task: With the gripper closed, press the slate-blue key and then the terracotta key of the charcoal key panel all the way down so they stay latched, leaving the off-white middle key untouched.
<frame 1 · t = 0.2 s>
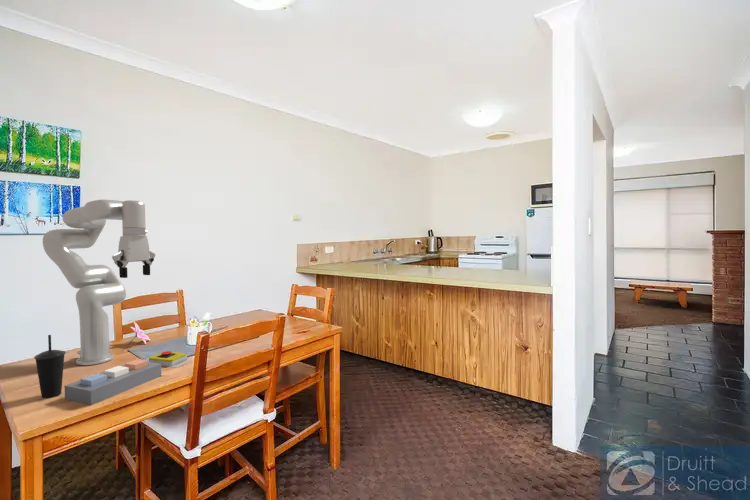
hand: (135, 276, 143), 36 cm above the table, tool pointing down, fingers open, 9 cm apart
off white key: (116, 373, 127), point 5 cm above the table, slide at 0.0 cm
lily: (139, 343, 178), on the table
slate blue key: (94, 381, 120), point 5 cm above the table, slide at 0.0 cm
drinking cup: (51, 395, 120), on the table
terracotta key: (136, 366, 134), point 5 cm above the table, slide at 0.0 cm
key panel: (116, 386, 127), on the table
emergency button: (168, 363, 152), on the table
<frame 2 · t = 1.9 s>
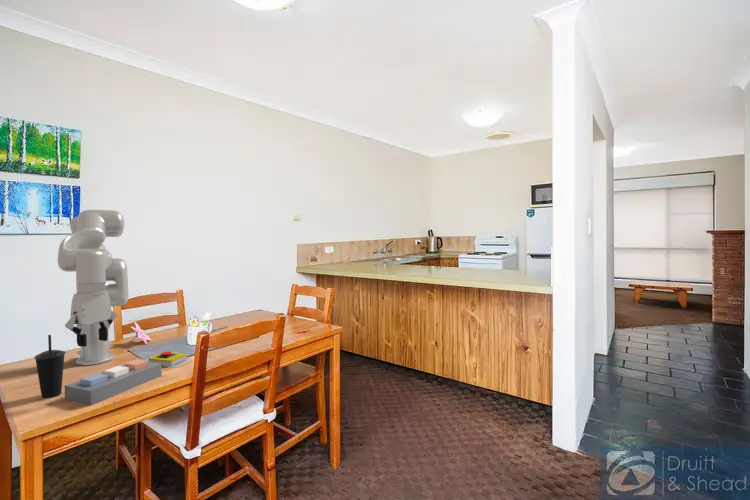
hand: (92, 342, 119), 18 cm above the table, tool pointing down, fingers open, 5 cm apart
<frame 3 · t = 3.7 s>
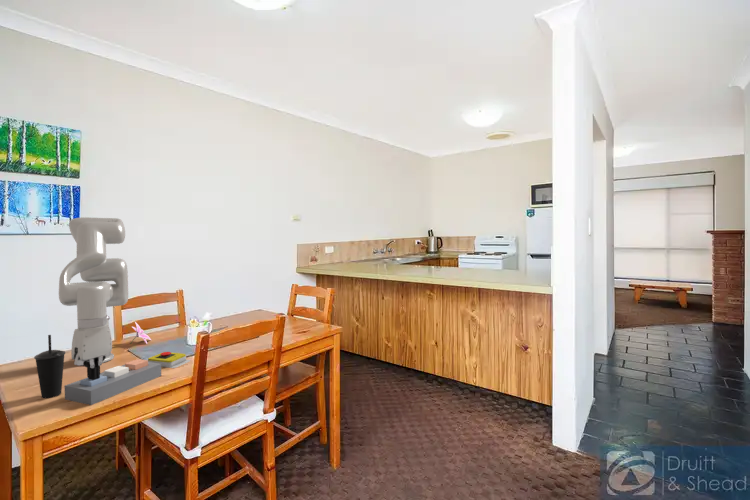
hand: (93, 378, 120), 6 cm above the table, tool pointing down, fingers closed
slate blue key: (94, 382, 120), point 4 cm above the table, slide at 0.4 cm, touching gripper
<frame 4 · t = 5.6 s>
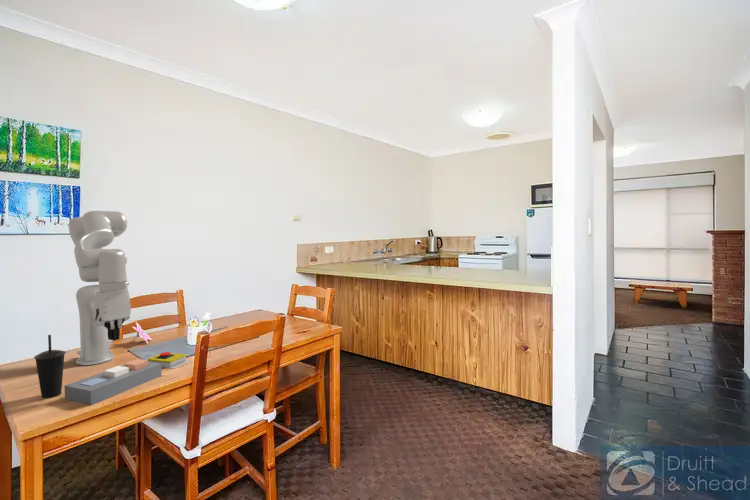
hand: (113, 339, 126), 17 cm above the table, tool pointing down, fingers closed
slate blue key: (94, 386, 120), point 3 cm above the table, slide at 1.5 cm
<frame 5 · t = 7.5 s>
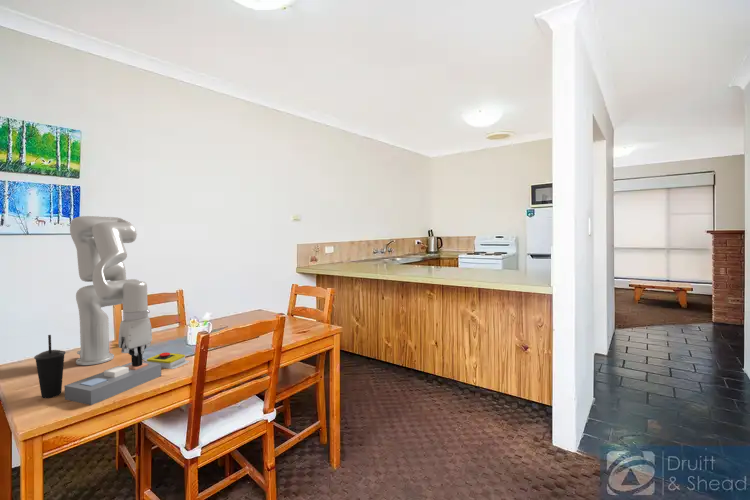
hand: (137, 365, 134), 5 cm above the table, tool pointing down, fingers closed
terracotta key: (136, 369, 134), point 4 cm above the table, slide at 1.2 cm, touching gripper
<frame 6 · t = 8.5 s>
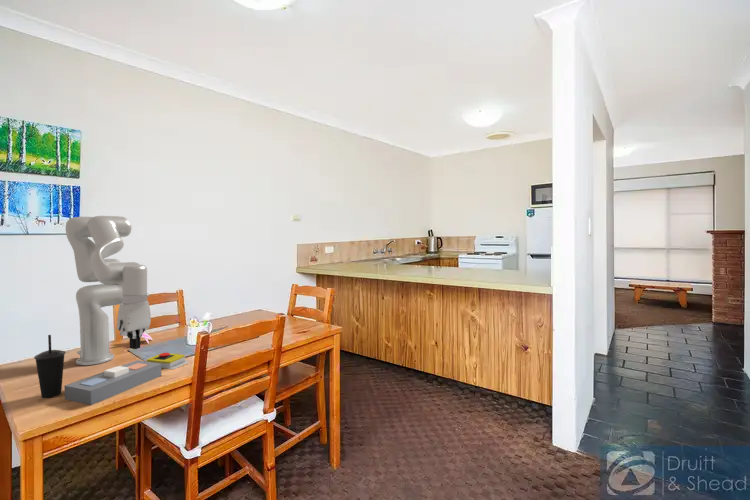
hand: (135, 348, 134), 11 cm above the table, tool pointing down, fingers closed
terracotta key: (136, 370, 134), point 3 cm above the table, slide at 1.5 cm
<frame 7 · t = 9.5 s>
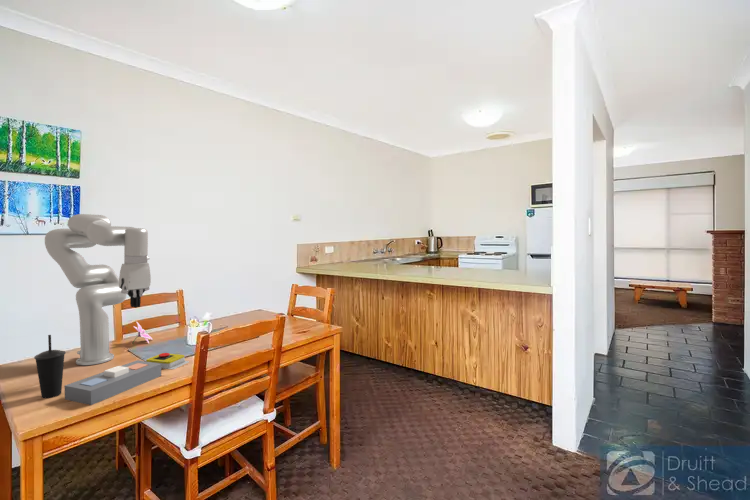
hand: (135, 306, 143), 25 cm above the table, tool pointing down, fingers closed
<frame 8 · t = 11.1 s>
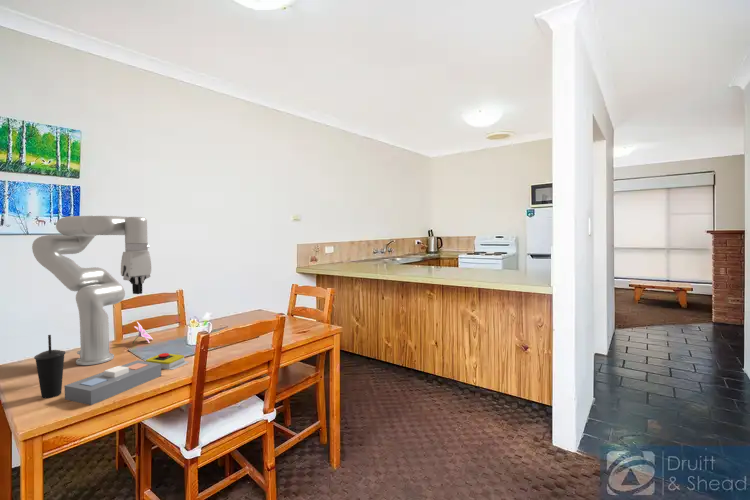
hand: (137, 293, 147), 29 cm above the table, tool pointing down, fingers closed
at the end: slate blue key slide at 1.5 cm; terracotta key slide at 1.5 cm; off white key slide at 0.0 cm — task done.
